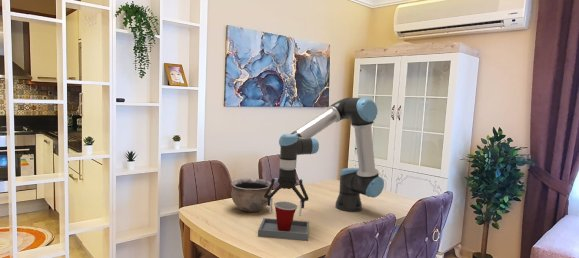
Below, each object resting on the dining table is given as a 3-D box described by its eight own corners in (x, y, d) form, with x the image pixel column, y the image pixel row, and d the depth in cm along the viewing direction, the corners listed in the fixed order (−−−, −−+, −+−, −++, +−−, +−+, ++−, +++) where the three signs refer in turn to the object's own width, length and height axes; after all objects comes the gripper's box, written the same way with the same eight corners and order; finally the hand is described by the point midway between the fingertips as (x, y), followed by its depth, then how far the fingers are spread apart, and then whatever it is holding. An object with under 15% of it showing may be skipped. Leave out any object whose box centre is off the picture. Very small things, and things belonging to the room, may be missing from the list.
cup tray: (308, 227, 173) (309, 221, 173) (307, 240, 157) (308, 233, 157) (263, 224, 175) (263, 217, 174) (257, 236, 159) (258, 229, 158)
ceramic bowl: (275, 206, 203) (277, 180, 202) (264, 218, 182) (265, 189, 181) (238, 202, 208) (239, 176, 207) (223, 213, 187) (224, 185, 186)
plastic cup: (293, 235, 159) (295, 209, 158) (270, 232, 162) (271, 206, 161) (298, 227, 170) (299, 202, 169) (275, 224, 172) (277, 199, 171)
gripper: (315, 168, 166) (312, 213, 168) (261, 165, 168) (259, 209, 170) (315, 171, 159) (312, 218, 160) (259, 168, 161) (257, 214, 162)
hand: (285, 214), depth 165 cm, fingers open, 13 cm apart
